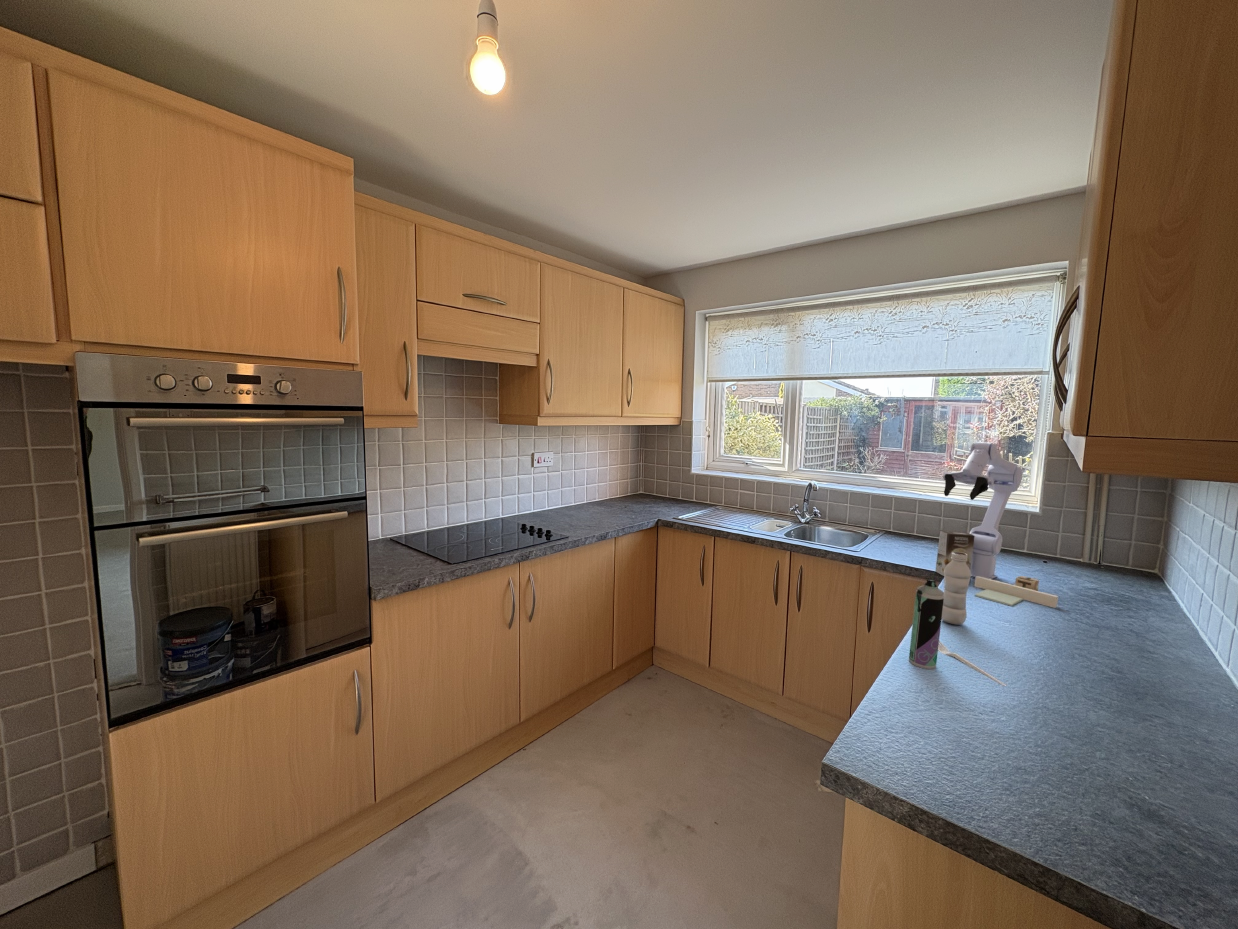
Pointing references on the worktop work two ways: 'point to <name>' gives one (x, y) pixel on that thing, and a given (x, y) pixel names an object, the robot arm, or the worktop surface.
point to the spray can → (926, 625)
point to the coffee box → (953, 548)
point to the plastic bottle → (956, 589)
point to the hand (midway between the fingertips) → (958, 495)
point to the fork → (965, 661)
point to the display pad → (998, 597)
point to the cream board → (1017, 591)
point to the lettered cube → (1027, 583)
